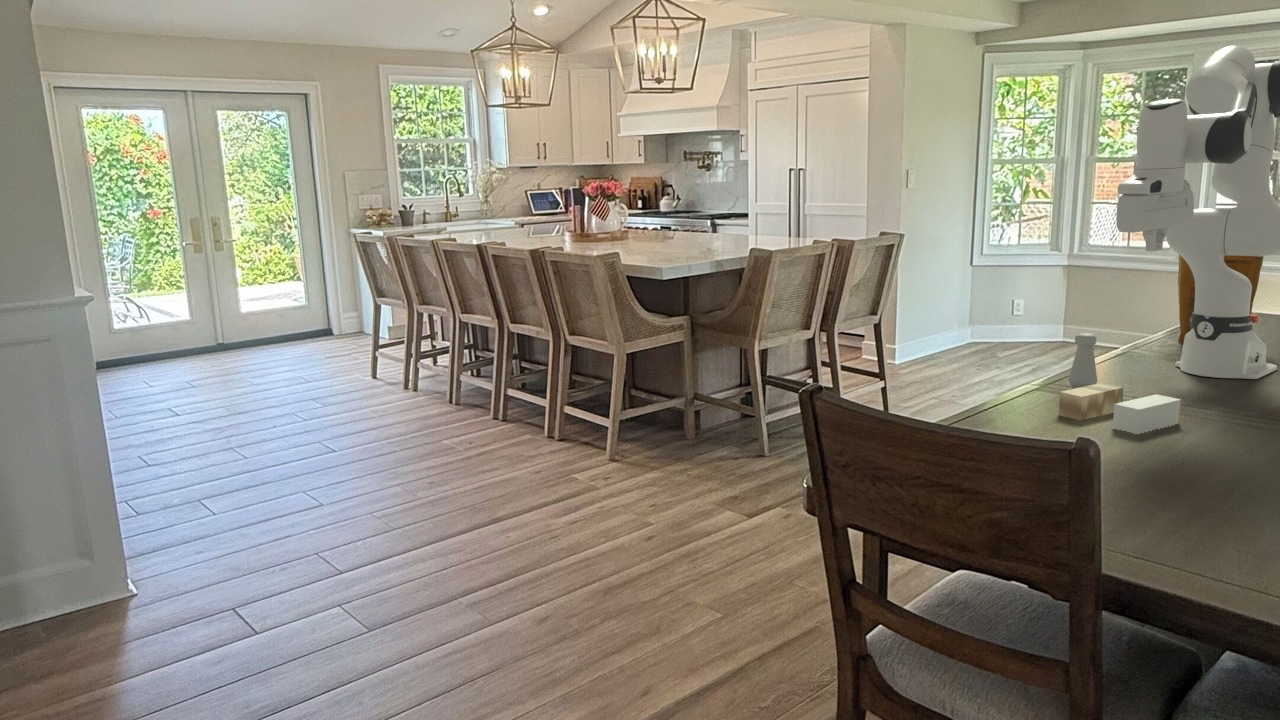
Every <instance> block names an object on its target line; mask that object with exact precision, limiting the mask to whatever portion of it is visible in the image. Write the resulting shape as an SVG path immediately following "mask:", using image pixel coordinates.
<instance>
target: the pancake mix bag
mask: <svg viewBox="0 0 1280 720" xmlns="http://www.w3.org/2000/svg"><path fill="white" fill-rule="evenodd" d="M1264 257H1265V256H1260V257H1259V256H1228V255H1227V256H1224V262H1225V264H1226V265H1227V266H1228V267H1229V268H1230V269H1232V270H1235V271H1237V272H1239V273H1241V274H1243V275H1244V276H1246V277H1247V278H1248V279H1249V280H1250V282H1251V285H1252V293H1251V302H1250V311H1249V314H1251V315H1252V311H1253V306H1254V305H1253V304H1254V299H1255V296H1256V294H1257V291H1258V286H1259V282H1260V281H1259V280H1260V274H1261V269H1262V268H1263V263H1264ZM1177 272H1178V277H1177V287H1178V288H1177V289H1178V291H1177V293H1178V295H1177V296H1178V306H1179V312H1178V315H1179V316H1178V319H1179V329H1180V330H1179V331H1180V334H1179V336H1178V340H1177V342H1178V343H1179V344H1184V339H1185V335H1186V334H1187V333H1188V332H1190V331H1191V329H1192V328H1191V327H1190V324H1191V321H1190V319H1191V316H1192V313H1193V312H1194V305H1195V281H1194V276H1193V273H1192V270H1191V268H1190V267H1189V265H1188V263H1187V262H1186V261H1185V259H1184V258H1183V257H1182V256H1181V255H1179V254H1178V271H1177Z"/></svg>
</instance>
